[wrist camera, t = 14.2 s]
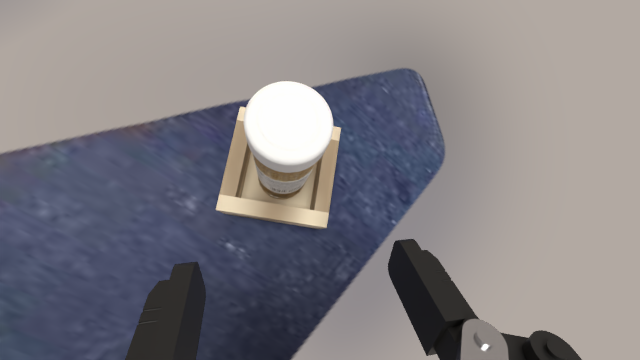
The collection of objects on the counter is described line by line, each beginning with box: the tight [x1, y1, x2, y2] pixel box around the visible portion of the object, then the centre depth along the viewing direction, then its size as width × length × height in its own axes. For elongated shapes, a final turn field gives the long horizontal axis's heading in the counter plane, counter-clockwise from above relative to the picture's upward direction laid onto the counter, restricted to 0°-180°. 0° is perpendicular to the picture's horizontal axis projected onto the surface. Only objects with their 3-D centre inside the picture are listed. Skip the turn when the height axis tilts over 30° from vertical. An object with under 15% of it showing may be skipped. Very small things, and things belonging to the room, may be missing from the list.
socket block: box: [216, 107, 341, 229], centre depth 25 cm, size 9×9×4 cm
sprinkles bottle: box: [244, 81, 333, 199], centre depth 20 cm, size 5×5×13 cm
